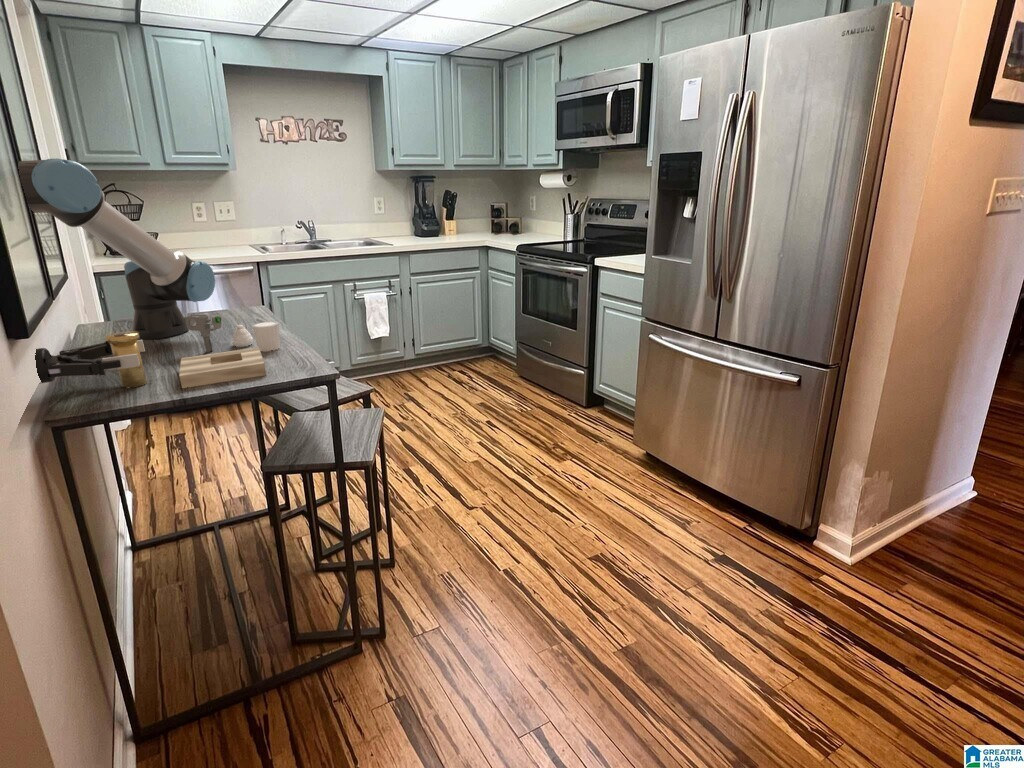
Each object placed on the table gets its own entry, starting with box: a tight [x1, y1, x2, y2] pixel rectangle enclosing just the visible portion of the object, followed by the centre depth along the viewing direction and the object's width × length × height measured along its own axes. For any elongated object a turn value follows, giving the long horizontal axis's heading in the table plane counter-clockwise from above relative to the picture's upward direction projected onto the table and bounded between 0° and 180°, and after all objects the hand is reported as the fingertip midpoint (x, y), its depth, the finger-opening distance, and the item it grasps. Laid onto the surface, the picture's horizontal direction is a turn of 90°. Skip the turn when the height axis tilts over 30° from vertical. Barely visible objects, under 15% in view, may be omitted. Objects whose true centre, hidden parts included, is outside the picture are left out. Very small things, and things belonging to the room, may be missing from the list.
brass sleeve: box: [105, 330, 148, 389], centre depth 137 cm, size 6×6×12 cm
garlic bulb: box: [231, 324, 254, 348], centre depth 169 cm, size 6×6×6 cm
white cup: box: [251, 321, 281, 352], centre depth 164 cm, size 7×7×7 cm
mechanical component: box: [184, 314, 222, 353], centre depth 162 cm, size 3×10×10 cm, turn 79°
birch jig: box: [178, 346, 267, 389], centre depth 145 cm, size 16×18×3 cm
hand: (141, 352), depth 137 cm, fingers open, 13 cm apart
